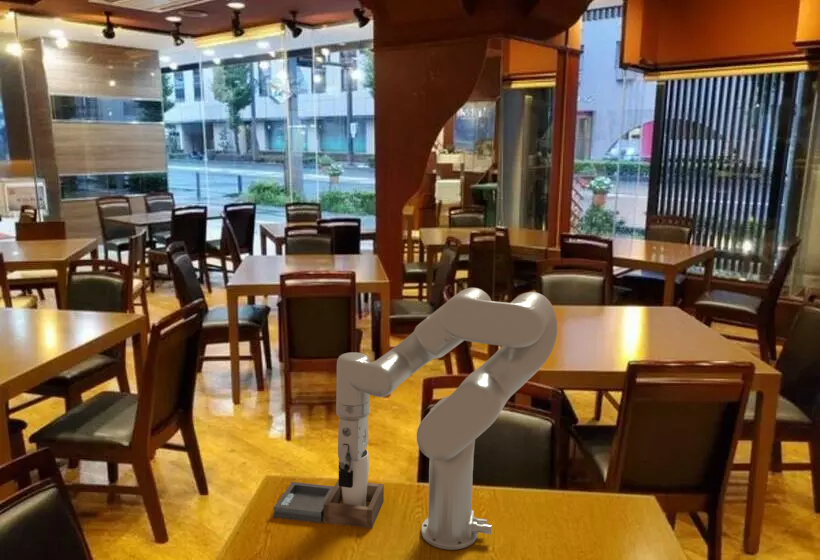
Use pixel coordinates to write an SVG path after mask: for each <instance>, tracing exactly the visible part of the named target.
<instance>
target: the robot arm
mask: <svg viewBox="0 0 820 560" xmlns="http://www.w3.org/2000/svg"><path fill="white" fill-rule="evenodd" d="M557 336H558V321H557V315H556V312H555V308H554V306H553V305H552V303H551V301H550V300H549V299H548V298H547V297H546V296H545V295H543V294H541V293H539V292H537V291H535V292H534V291H529V292H524V293H522V294H520V295H518V296H516V297H515V298H514V299H513V300H512V301H510V302H506V301H505V302H502V301H492V299H491V297H490V296H489V294H488V293H487V292H486V291H484V290H483V289H481V288H478V287H468V288H465V289H462V290H460V291H459V292H458V293H456V294H455V295H454V296H452V297H451V298H450V299H448V300H447V302H445V303H443V305H441V306H440V307H439V308H437V309H436V310H434V312H432V313H431V314H430V315H428V316H427V317H426V318H424V319H423V320H422V321H421V322H420V323H419V324H417V325H416V326H415V328H414V330H413V332H411V334H409V335H408V336H407V337H406V338H404V339H403V340H402V341H401V342H399V343H398V344H397V345H395V346H394V347H393V348H391V349H390V350H389V351H387V352H386V353H385V354H382V355H381V356H380V357H379V358H377V359H376V360H373V361H371V359H370V357H369V356H368V355H367V354H365V353H362V352H355V351H354V352H346V353H342V354H340V355H339V356H338V358H337V360H336V388H335V389H336V390H335V391H336V398H335V399H336V401H335V403H336V404H335V405H336V406H335V407H336V409H335V411H336V412H335V414H336V416H337V417H339V421H338V434H337V435H338V437H337V457H338V480H339V486H341V487H348V488H352V486H353V471H352V465H353V461H359V460H360V458H361V457H362V455H363V453H364V451H365V449H366V450H367V447H368V445H369V415H370V396H373V397H376V398H385V397H387V396H389V395H390V394H392V393H393V392H394V391H395V390H397V388H398V387H399V386H400V385H401V384H402V383H403V382H405V381H406V380H407V379H408V378H410V377H411V376H412V375H413V374H415V373H416V372H417V371H419V370H421V369H422V368H423V367H424V366H425V365H427V364H428V363H430V362H431V361H433V360H435V359H441V358H442V357H444V356H445V355H446V354H448V353H450V352H451V351H452V350H453V349H455V348H456V347H457V346H459V345H460V344H461V343H463V342H464V341H466V342H471V343H476V344H477V343H478V344H485V345H492V346H501V347H500V348H498V349H497V351H496V352H495V353H494V354H493V355H492V356H490V357H489V358H488V359H487V360H486V361H485V362H484V363H483V364H482V365H481V366H479V367H478V368H477V369H475V370H474V371H472V372H471V373H469V375H467V377H465V379H464V380H463V381H462V382H461V383H460V385H458V387H457V388H456V389H454V391H453V392H452V393H451V394H450V395H448V396H445V397H443V398H442V399H440V400H438V401H437V403H435V405H434V406H433V407H432V408H431V409H430V411H429V412H427V414H426V415H425V417H424V418H423V419H422V420H421V422H420V424H419V425H418V428H417V429H416V430H417V431H416V442H417V446H418V448H419V450H420V451H421V453H422V454H423V455H424V456H426V457H427V458H428V459H429V465H428V466H429V467H428V475H429V476H428V517H427V518H426V519H424V521H423V522H422V524H421V526H420V528H421V529H420V533H421V536H422V538H423V540H424V541H425V542H426V543H428V544H429V545H431V546H433V547H435V548H438V549H443V550H448V551H455V550H461V549H464V548H467V547H470V546H471V545H473V544H474V543H475V542H476V541H477V538H478V536H479V533H481V534H486V535H492V527H493V525H492V524H487V523H488V520H487V518H477V516H475V514H474V513H475V511H474V509H472V507H473V503H472V502H473V482H474V481H473V477H474V476H473V474H474V472H473V471H474V456H475V445H476V444H475V443H476V439H477V438H479V437H480V436H481V435H482V434H483V433H484V432H486V431H487V430H488V429H489V428H490V427H491V426H492V425H493V423H495V421H496V420H497V418H498V417H499V416H500V414H501V413H502V411H503V409H504V408H505V405H506V403H507V402H508V401H509V399H510V398H511V397H512V396H514V394H515V393H517V391H518V390H520V389H521V388H522V387H523V386H525V384H526V383H527V382H528V381H529V380H530V379H531V378H532V377H534V375H536V373H537V372H539V370H541V368H542V367H543V366H544V365H545V364H546V362H547V361H548V358H549V357H550V355H551V353H552V352H553V349H554V347H555V343H556V340H557ZM347 455H351V458H350V457H347ZM346 461H350V462H349V466H348V465H347V464H346Z"/></svg>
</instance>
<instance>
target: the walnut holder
mask: <svg viewBox="0 0 820 560" xmlns="http://www.w3.org/2000/svg"><path fill="white" fill-rule="evenodd" d="M384 490H385V486H384V484H382V483H376V482H375V483H373V482H368V484H367V496H366V503H369V505H368V506H366V507H365V506H357V505H348V504H343V503H341V502H342V501H343V500H342V499H343V497H342V488H341V486H339V479H338V480H337V481H336V482H335V484H334V488H333V489H332V491H331V493H330V494H329V496H328V498H327V499H326V501H325V503H324V505H323V511H324V518H323V524H332V525H339V524H340V525H341V526H347V525H349V526H350V527H355V528H356V527H358V528H366V529H373V528H374V525H375V523H376V520H377V518H378V516H379V513H380V511H381V509H382V507H383V505H384V502H385V501H384V500H385V497H384V495H385V494H384V493H385V491H384ZM349 526H348V527H349Z"/></svg>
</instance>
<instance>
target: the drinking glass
mask: <svg viewBox="0 0 820 560" xmlns="http://www.w3.org/2000/svg"><path fill="white" fill-rule="evenodd" d="M347 457H350V458H351V455H347ZM369 457H370V455H369V451H368V449H367V448H366V449H365V451H364V453H363V455H362V457H361V458H360V460H359V461H353V465H352V471H353V486H352V488H348V487H341V488H342V497H343V500H342V504H348V505H357V506H365V507H367V502H366V496H367V484H368V483H369V469H370V466H369V465H370V463H369V461H370V460H369ZM349 462H350V461H346V464H347V465H348V466H349Z"/></svg>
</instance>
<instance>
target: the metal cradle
mask: <svg viewBox="0 0 820 560" xmlns="http://www.w3.org/2000/svg"><path fill="white" fill-rule="evenodd" d="M334 486H335V485H334ZM334 486H333V485H332V486H331V485H324V484H323V485H322V484H315V483H304V482H296V481H292V482H291V483H290V484H289V486H288V487H287V488H286V490H285V491H284V493H283V494H282V495H281V496H280V498H279V499H278V500H277V502H276V503H275V505H274V506H273V518H277V519H283V520H284V519H286V520H291V521H292V520H293V521H300V522H301V521H302V522H308V521H309V522H311V523H318V524H322V522H323V521H324V511H323V505H324V503H325V501H326V499H327V498H328V496H329V494H330V493H331V491H332V489H333V488H334Z"/></svg>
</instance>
